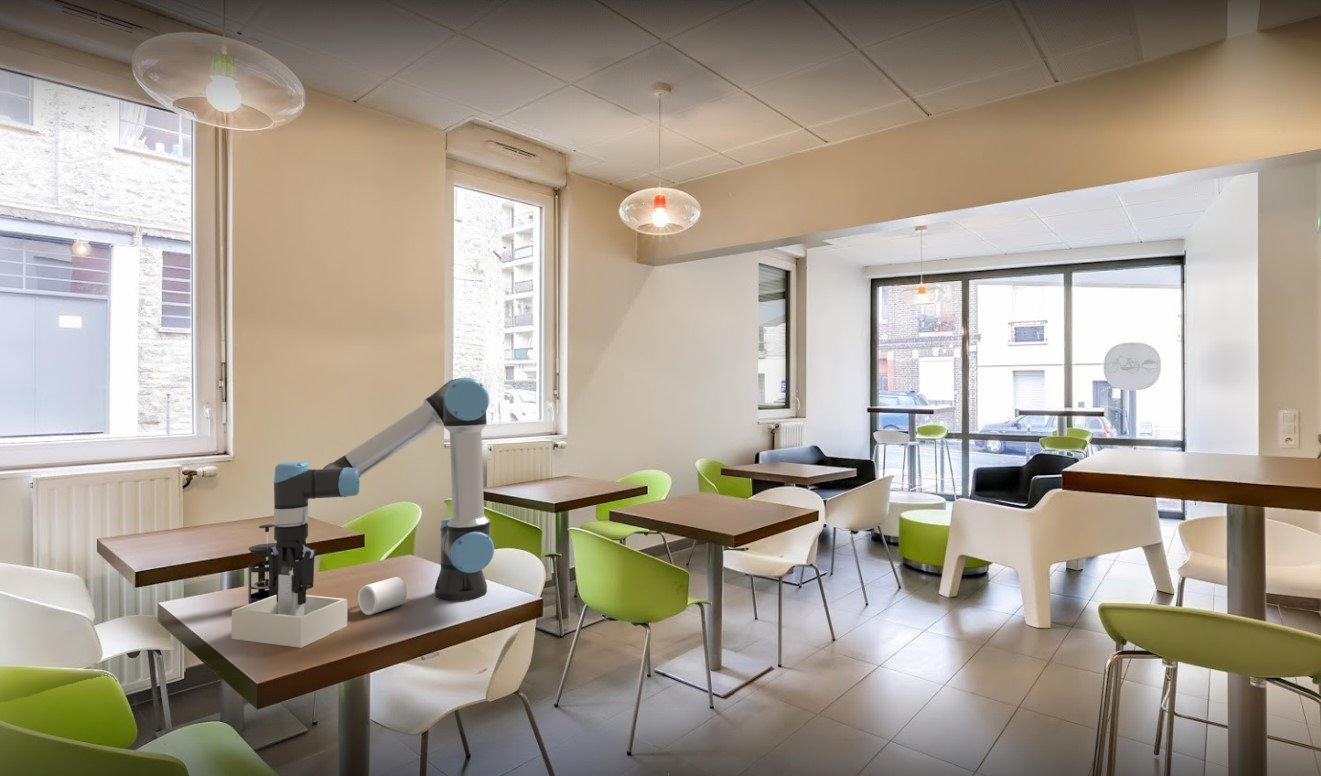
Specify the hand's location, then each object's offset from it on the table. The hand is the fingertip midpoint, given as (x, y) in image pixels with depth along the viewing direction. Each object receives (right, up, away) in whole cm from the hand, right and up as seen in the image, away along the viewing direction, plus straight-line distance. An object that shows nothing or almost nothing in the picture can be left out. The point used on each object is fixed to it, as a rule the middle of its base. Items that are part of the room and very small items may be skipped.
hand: (291, 615), depth 165 cm
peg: (0, -3, 0) cm, 3 cm away
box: (0, -4, 0) cm, 4 cm away
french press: (-18, -5, +21) cm, 28 cm away
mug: (+14, -5, +18) cm, 24 cm away
